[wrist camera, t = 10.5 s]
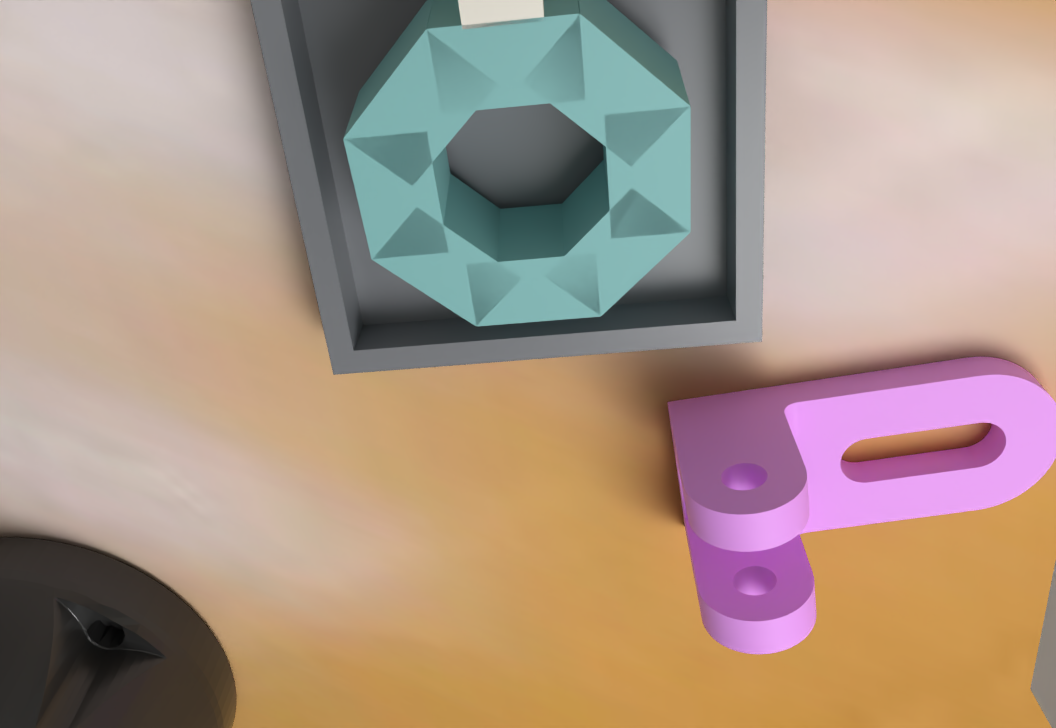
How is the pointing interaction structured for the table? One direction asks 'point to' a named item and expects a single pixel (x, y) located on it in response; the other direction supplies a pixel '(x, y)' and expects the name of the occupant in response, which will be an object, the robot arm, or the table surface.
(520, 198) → the tray
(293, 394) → the table surface
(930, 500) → the bracket
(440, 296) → the ring
